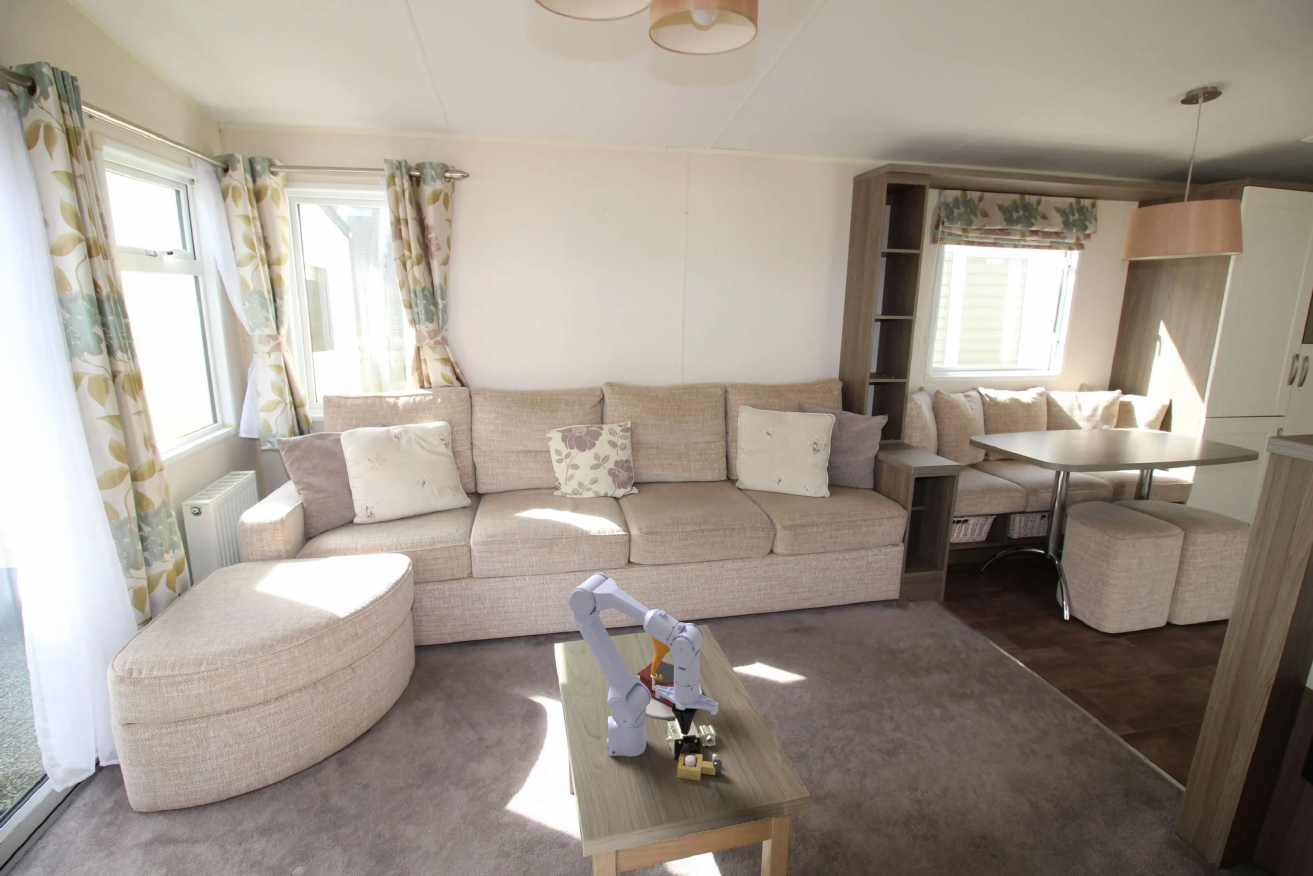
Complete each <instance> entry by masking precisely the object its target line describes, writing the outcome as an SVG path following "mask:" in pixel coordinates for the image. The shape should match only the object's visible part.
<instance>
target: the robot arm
mask: <svg viewBox="0 0 1313 876" xmlns="http://www.w3.org/2000/svg"><path fill="white" fill-rule="evenodd" d="M567 602H568V605H569V607H570V609H571V610H572V613H573V620H574V623H575V625H576V627H577V629H578V631H579V632H580V634H581V636H582V638H583V640H584V642H585V643H586V645H587V647H588V650H589V651H590V653H591V655H592V656H593V659H594V661H595V662H596V664H597V666H598V668H599V670H600V672H601V674H602V676H603V677H604V680H605V681H606V682H607V683H606V684H607V685H608V687H609V689H608V695H607V704H608V705H609V708H610V715H609V716H608V717H607V730H608V732H607V735H608V736H607V738H606V747H607V748H608V757H614V756H615V757H616V756H625V757H631V758H633V757H637V756H639V755H641V754H643V753H644V752H645V750H646V748H647V715H646V706H647V705H648V704H649V703H650V701H651V693H650V691H649V689H648V688H647V687H646V686H645V685H644V684H643V683H642V682H641V681H640V679H639V677H638V676H639V675H634V674H630V672H629V671H628V668H627V667H626V665H625V663H624V661H623V659H622V657H621V656H620V654H619V651H618V649H617V648H616V646H615V644H614V642H613V640H612V639H611V637H610V634H609V632H608V631H607V629H606V627H605V625H604V623H603V622H602V619H601V618H600V614H601V612H602V611H605V610H610V609H614V610H616V611H618V612H619V613H621V614H623V615H625V616H627V617H629V618H630V619H633V620H634V621H636V622H638V623H640V624H642V627H643V630H644V632H645V633H646V634H648V635H649V636H650V635H651V636H653V637H654V638H656V639H658V640H659V641H661V642H662V643H664V644H666V645H667V646H669V647H670V651H669V652H671V654H672V656H673V659H674V660H673V665H674V687H664V686H658V687H657V689H656V690H655V697H656V698H660V697H662V698H666V699H668V700H670V701H671V702H673V703H674V705H673V707H672V712H673V713H674V715H675V716H676V718H677V720H678V723H679V726H680V729H681V733H682V734H684V735H687V734H688V733H689V731H690V727H691V723H692V721H693V720H694V717H695V714H696V713H697V710H703V711H706V712H710V715H713V716H716V714H717V713H718V711H719V702H717V701H715V700H712V699H710V698H709V697H707V696H705V695H703V693H702V694H700V693H699V685H700V678H701V677H700V675H701V674H700V673H701V672H700V671H701V670H700V669H701V668H700V667H701V659H700V658H701V655H700V654H701V653H700V652H701V647H702V645H703V643H704V641H705V636H704V633H703V631H702V629H701V628H700V627H699V626H697V624H696V623H692V622H687V623H685V622H681V621H679V620H677V619H675V618H674V617H672V616H671V615H669V614H667V611H665V610H663V609H660V608H655V609H649V608H648V607H646V606H645V605H643V604H642V603H641V602H639V601H638V600H637V599H635V598H634V597H632V596H631V595H629V594H628V593H627V592H625V591H624V590H622V589H621V588H620V587H619V586H618V585H617V582H616V581H615V579H614V578H611V577H608V575H606V574H605V573H603V572H595V573H593V574H592V575H591V576H590V577H589V578H588V579H586V580H585V581H583V582H582V583H581V584H579V585H578V586H577V587H575V588H573V589H572V591H571V592H570V595H569V598H568V600H567ZM651 636H650V637H651Z"/></svg>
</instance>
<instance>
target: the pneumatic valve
mask: <svg viewBox="0 0 1313 876" xmlns="http://www.w3.org/2000/svg"><path fill="white" fill-rule="evenodd" d="M698 729H699V732H698ZM666 736H667V737H665V742H666V743H669V745H670V748H671V753H672V755H673V759H674V760H679V757H680V753H694V754H701V746H702V747H706V746H708V747H713V746H716V744H717V743H716V736H717V733H716V730H715V728H714V726H713V725H712V724H709V725H699V727H698V728H697V727H696V725H695V723H694V721H693V720H692V723H691V727H690V731H689V733H688V734H687V735H684V734H682V733H681V729H680V726H679V723H678V720H677V718H676V717H675V718H670V719H667V720H666Z"/></svg>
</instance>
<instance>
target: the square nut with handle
mask: <svg viewBox="0 0 1313 876" xmlns="http://www.w3.org/2000/svg"><path fill="white" fill-rule="evenodd" d="M688 755H692V756H694V757H695V759H696V764H695V767H691V766H685V757H686V756H688ZM703 758H704V757H703V754H701V753H700V754H694V753H680V757H679V759H678V763H677V768H676V769H677V774H676V775H677V776H676V778H679V779H685V780H694V781H701V778H702V774H703V775H711V776H713V777H714V778H721V777H722V774H723V762H722V760H721V759H719V758H717V759H716V760H714V761H713V760H712V761H713V762H712V761H708V760H707V761H706V760H703Z"/></svg>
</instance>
